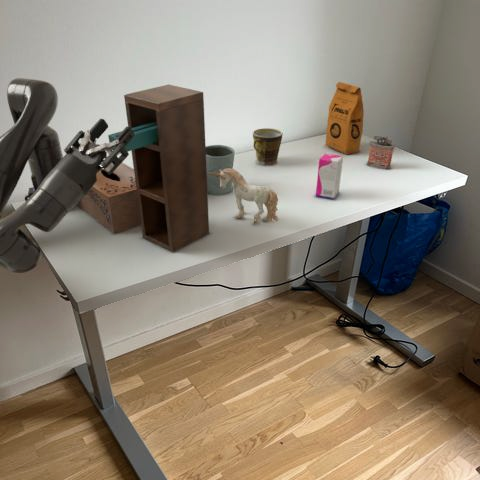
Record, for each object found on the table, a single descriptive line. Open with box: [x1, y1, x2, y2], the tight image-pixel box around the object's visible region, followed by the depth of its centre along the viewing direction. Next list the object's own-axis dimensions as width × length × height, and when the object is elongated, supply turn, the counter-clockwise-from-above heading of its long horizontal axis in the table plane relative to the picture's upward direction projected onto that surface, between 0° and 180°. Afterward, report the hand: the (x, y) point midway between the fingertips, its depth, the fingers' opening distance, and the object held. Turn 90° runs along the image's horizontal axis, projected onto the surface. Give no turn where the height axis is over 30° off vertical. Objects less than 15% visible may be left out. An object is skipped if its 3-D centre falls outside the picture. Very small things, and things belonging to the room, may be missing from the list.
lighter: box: [366, 134, 395, 170], centre depth 165 cm, size 8×3×10 cm, turn 58°
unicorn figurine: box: [207, 168, 280, 225], centre depth 132 cm, size 7×20×13 cm, turn 74°
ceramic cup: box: [252, 127, 283, 167], centre depth 167 cm, size 13×10×10 cm
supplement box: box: [315, 152, 344, 200], centre depth 145 cm, size 6×6×12 cm
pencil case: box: [107, 121, 159, 153], centre depth 109 cm, size 22×4×3 cm, turn 139°
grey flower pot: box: [206, 144, 236, 196], centre depth 148 cm, size 10×10×12 cm
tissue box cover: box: [76, 162, 141, 234], centre depth 137 cm, size 26×14×10 cm, turn 39°
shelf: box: [123, 84, 210, 253], centre depth 117 cm, size 13×11×34 cm
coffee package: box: [324, 81, 364, 156], centre depth 175 cm, size 10×12×22 cm
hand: (118, 125), depth 101 cm, fingers open, 8 cm apart
